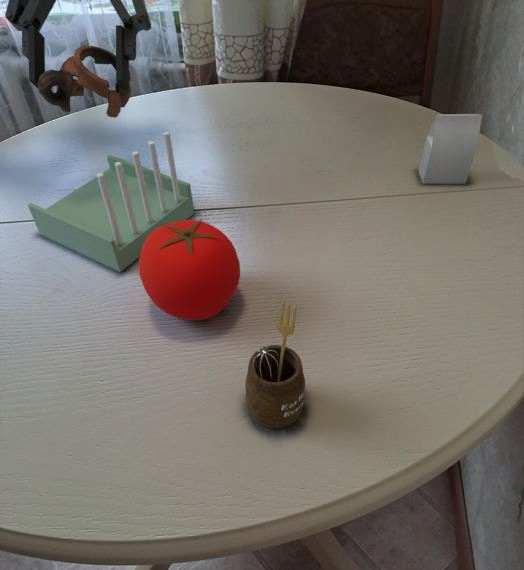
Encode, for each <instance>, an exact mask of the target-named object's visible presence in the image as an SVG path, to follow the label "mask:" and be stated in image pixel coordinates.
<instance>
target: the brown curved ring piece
mask: <svg viewBox="0 0 524 570" xmlns="http://www.w3.org/2000/svg"><path fill="white" fill-rule="evenodd" d="M88 57H91V58H92V59H93V63H94V64H95V65H107V66H109V65H111V66H112V68H114V70H115V71H116V54H114V53H113V52H112V51H109V50H107V49H105V48H102V47H99V46H94V45H82V46H79V47H78V48H76V49H75V50H74V53H73V55H71V56H69V57H68V58H67V59H66V60H65V61H64V62H63V63H62V64H61V67H60V69H58V70H56V69H48V70H45V72H44V73H43V74H42V75H41V76H40V78H39V81H38V88H37V90H38V92H39V95H40V96H41V97H42V98H43V99H44V101H46V102H47V103H48V104H50V105H52V106H56V107H59V108H60V111H61V112H65V113H71V112H72V111H71V109H72V108H71V98H72V97H84V96H85V89H86V90H88V91H90V92H93V93H95V94H97V95H98V96H99V97H102V98H104V99H107V108H106V116H107V117H108V118H113V119H115V118H118V116H119V114H120V113H121V110H122V108H125V107H126V105H127V104H128V102H129V100H130V98H131V96H132V88H131V84H130V82H131V79H132V78H131V72H130V71H129V90H123V89H122V88H121V87H120V85H119V84H118V82H117V81H116V82H115V85H114V87H115V90H114V89H110V82H109V81H108V80H107V79H104V78H102V77H100V76H98V75H96V74H95V73H93V72H92V71H91V70H89V68H88V67H86V66H85V65H84V62H83V61H85V59H86V58H88ZM74 77H75V78H74ZM54 87H56V91H55V92H53V90H52V89H53V88H54Z"/></svg>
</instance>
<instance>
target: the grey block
mask: <svg viewBox="0 0 524 570" xmlns="http://www.w3.org/2000/svg"><path fill="white" fill-rule="evenodd" d="M482 120H483V113H458V114H457V113H454V114H453V113H450V114H449V113H448V114H446V113H445V114H444V113H443V114H441V113H439V114H435V115H434V118H433V121H432V123H431V126H430V128H429V131H428V133H427V136H426V139H425V143H424V147H423V152H422V155H421V160H420V163H419V168H418V173H419V176H420V180H421V183H422V184H424V185H427V184H428V185H429V184H432V185H433V184H437V185H438V184H442V185H443V184H444V185H445V184H447V185H449V184H453V185H454V184H465V185H466V183H467V180H468V177H469V175H470V171H471V168H472V165H473V163H474V159H475V155H476V153H477V149H478V145H479V137H480V130H481V125H482Z"/></svg>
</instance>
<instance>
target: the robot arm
mask: <svg viewBox="0 0 524 570" xmlns="http://www.w3.org/2000/svg"><path fill="white" fill-rule="evenodd" d="M56 2H57V0H8V3H7V6H6V9H5V13H4V16H5V19H6V20H7V21H8V22H9V23H10V24H11V26H12V27H14V28H15V30H17V31H18V32H21V52H22V55H23V56H24V57H25V58H26V59H27V60H28V81H29V82H30V83H31V84H32V85H33V86H34V87H36V88H37V89H38V81H39V78H40V76H41V75H42V74H43V73H44V72H46V45H45V44H46V43H45V42H46V40H45V39H46V38H45V36H44V35H43V34H42V33H41V32H40V31H41V29H42V28H43V26H44V24H45V22H46V20H47V18H48V17H49V15H50V13H51V11H52V10H53V8H54V6H55V4H56ZM109 2H110V3H111V5H112V7H113V9H114V10H115V12H116V14H117V16H118V18H119V19H120V21H121V23H122V25H120V24H119V25H115V55H116V70H115V81H116V82H118V84H119V85H120V87H121V88H122V89H123V90H129V84H130V82H129V72H130V61H136V59H137V35H138V33H140V32H142V31H145V32H147V31H150V30H151V28H152V22H151V19H150V15H149V12H148V9H147V5H146V1H145V0H131V2H132V5H133V8H134V12H135V14H133V15H131V14H129V12H128V10H127V8H126V6H125V5H124V3H123V1H122V0H109Z"/></svg>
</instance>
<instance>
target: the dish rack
mask: <svg viewBox="0 0 524 570" xmlns="http://www.w3.org/2000/svg"><path fill="white" fill-rule="evenodd" d="M163 138H164V143H165V145H164V146H165V150H166V156H167V162H168V167H169V172H170V175H167V174H164V173H161V170H160V169H161V168H160V163H159V160H158V153H157V148H156V143H155V141H153V140H152V141H151V140H150V141H148V143H147V145H148V149H149V154H150V155H149V156H150V159H151V166H152V169H150V168H147V167H144V166H142V163H141V158H140V154H139V152H138V151H137V150H135V151H132V152H131V156H132V160H133V162H131V161H128V160H125V159H122V158H120V157H117V156H114V155H111V154H109V155H107V156H106V159H107V162H108V165H109V168H108V169H107V170H105V171H103V172H99V173H97V174H96V177H94V178H92V179H91V180H89V181H88V182H86V183H83V185H81V186H80V187H78V188H76V189H74V190H73V191H72V192H70V193H69V194H67V195H65V196H63V197H62V198H61V199H59V200H57V201H56V202H54V203H53V204H51V205H49V206H47V207H46V208H44V207H41V206H39V205H37V204H35V203H33V202H29V203H27V207H28V210H29V212H30V214H31V217H32V219H33V221H34V224H35V226H36V228H37V231H38V233H39V235H40V236H43V237H45V238H47V239H49V240H51V241H53V242H56V243H57V244H60V245H61V246H64V247H66V248H68V249H70V250H72V251H74V252H76V253H78V254H81V255H83V256H86V257H87V258H89V259H90V260H93V261H96V262H98V263H99V264H102V265H103V266H106V267H108V268H110V269H112V270H114V271H116V272H119V273H121V272H123V271H124V270H125V269H126V268H128V267H129V266H130V265H131V264H133V263H134V262H136V261H137V260H139V259H140V255H141V251H142V247H143V245H144V243H145V241H146V239H147V238H148V236H149V235H150V234H151V233H152V232H153V231H154V230H155V229H157V228H159V227H161V226H164V225H166V224H170V223H174V222H178V221H184V220H189V218H190V217H192V216H193V215H194V214H195V210H194V209H195V207H194V202H193V195H192V188H191V183H189V182H186V181H185V180H181V179H178V176H177V169H176V162H175V157H174V151H173V144H172V138H171V133H170V132H169V131H164V132H163Z"/></svg>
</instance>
